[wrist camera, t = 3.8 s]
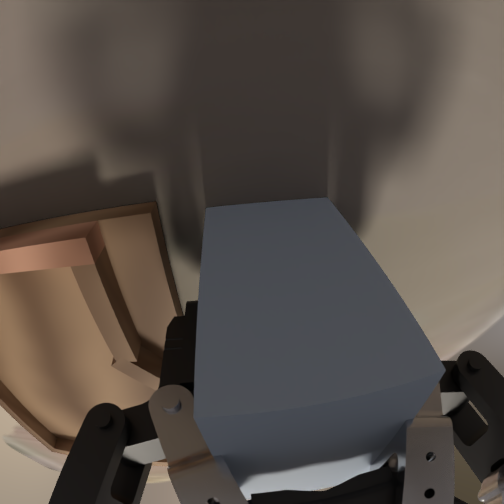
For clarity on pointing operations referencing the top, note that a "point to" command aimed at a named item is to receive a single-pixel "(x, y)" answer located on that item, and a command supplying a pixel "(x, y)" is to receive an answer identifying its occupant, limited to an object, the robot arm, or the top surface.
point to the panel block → (301, 348)
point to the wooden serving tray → (82, 317)
